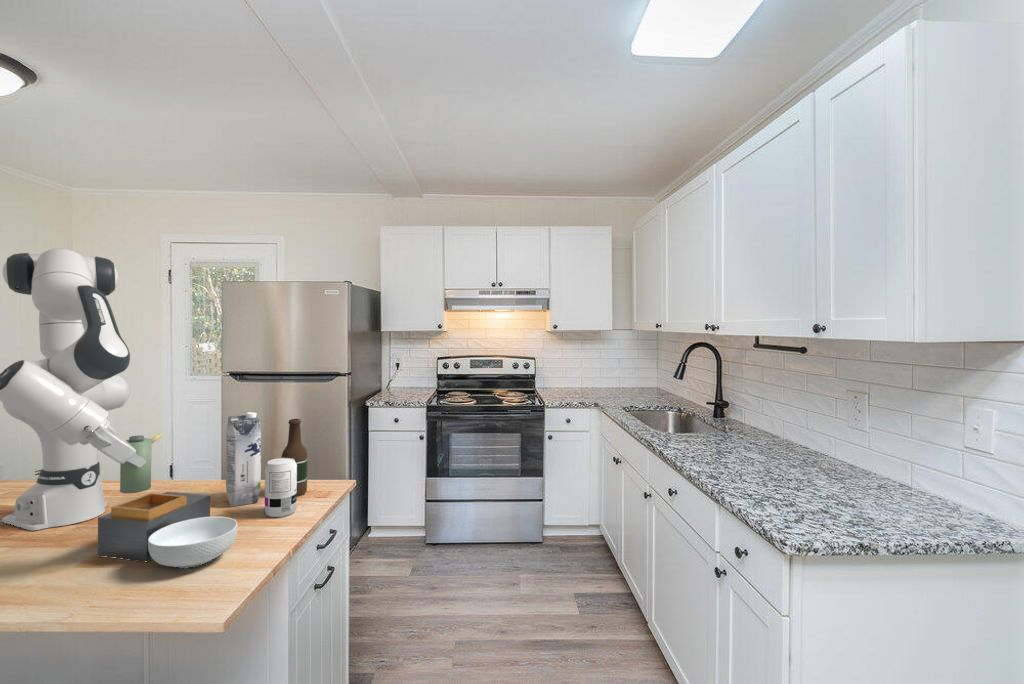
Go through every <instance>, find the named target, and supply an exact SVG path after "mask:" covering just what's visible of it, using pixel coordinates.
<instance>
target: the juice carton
mask: <svg viewBox="0 0 1024 684" xmlns="http://www.w3.org/2000/svg"><path fill="white" fill-rule="evenodd" d="M261 428H262V427H261V421H260V419H259V418H258V414H257V412H251V411H248V412H246V413H245V415H244V414H243V415H231V416H228V420H227V423H226V439H225V440H226V443H225V447H226V448H225V453H226V454H225V462H226V463H225V488H226V496H227V500H228V503H229V506H230V507H232V508H233V507H238V506H244V505H250V504H252V505H253V504H257V503H258V501H259V498H260V493H261V486H262V485H261V483H262V480H261V477H262V475H261V473H262V429H261Z"/></svg>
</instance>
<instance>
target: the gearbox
mask: <svg viewBox="0 0 1024 684" xmlns="http://www.w3.org/2000/svg"><path fill="white" fill-rule="evenodd" d="M201 517H211V495H209V494H197V493H186V492H175V491H165V492H162V493H158V492H150V493H147V494H145V495H144V494H143V495H142V496H138V497H136V498H133V499H130V500H128V501H125V502H122V503H119V504H117V505H114V506H112V507H110V513H106V514H103V515H101V516H97V556H98V555H99V556H107V557H116V558H123V559H130V560H129V561H132V560H138V561H137V562H140V561H148V560H150V561H152V560H153V559H152V557H151V556H150V553H149V550H148V538H149V537H150V536H151V535H152V534H153V533H154V532H156V531H158V530H159V529H161V528H164V527H166V526H169V525H171V524H174V523H177V522H181V521H185V520H190V519H195V518H201ZM123 559H122V560H123ZM151 559H152V560H151ZM148 562H149V561H148Z"/></svg>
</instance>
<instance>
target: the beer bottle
mask: <svg viewBox="0 0 1024 684" xmlns="http://www.w3.org/2000/svg"><path fill="white" fill-rule="evenodd" d="M301 423H302V420H301V419H300V418H292V419H289V420H288V426H289V427H288V438H287V444H286V447H284V449H283V451H282V453H281V457H280V458H292V459H294V460H295V462H296V464H297V497H301V496H305V494H306V493H307V491H308V451H307V449H306V447H305V445H303V443H302V434H301V432H302V431H301V430H302V429H301Z"/></svg>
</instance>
